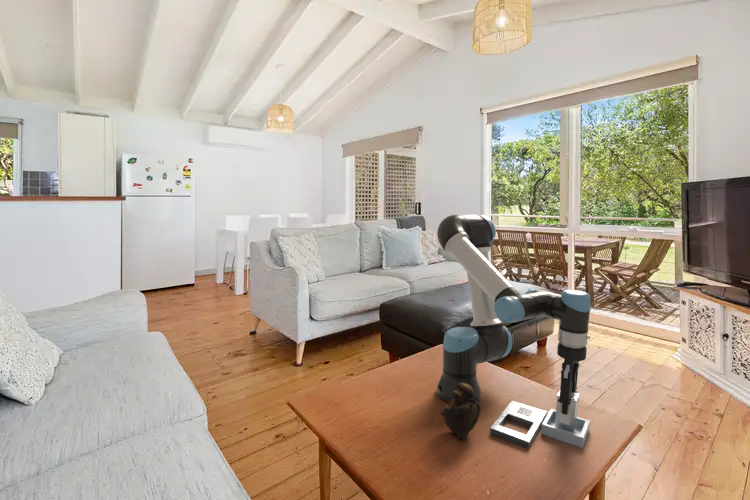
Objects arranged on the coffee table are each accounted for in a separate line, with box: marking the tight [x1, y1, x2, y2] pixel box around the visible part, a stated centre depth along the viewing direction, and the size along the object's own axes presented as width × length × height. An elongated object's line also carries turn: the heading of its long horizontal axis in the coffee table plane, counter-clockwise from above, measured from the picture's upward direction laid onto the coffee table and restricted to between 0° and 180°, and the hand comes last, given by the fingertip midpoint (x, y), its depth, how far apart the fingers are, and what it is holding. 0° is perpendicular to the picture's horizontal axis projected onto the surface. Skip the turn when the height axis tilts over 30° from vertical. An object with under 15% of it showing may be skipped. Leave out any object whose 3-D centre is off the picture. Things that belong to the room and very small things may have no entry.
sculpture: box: [440, 383, 482, 441], centre depth 113 cm, size 11×11×15 cm
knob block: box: [555, 390, 580, 433], centre depth 115 cm, size 5×5×11 cm
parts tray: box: [540, 408, 591, 449], centre depth 116 cm, size 11×11×3 cm
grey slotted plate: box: [489, 400, 548, 450], centre depth 119 cm, size 11×20×2 cm, turn 143°
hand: (566, 418), depth 115 cm, fingers closed on knob block, 5 cm apart
